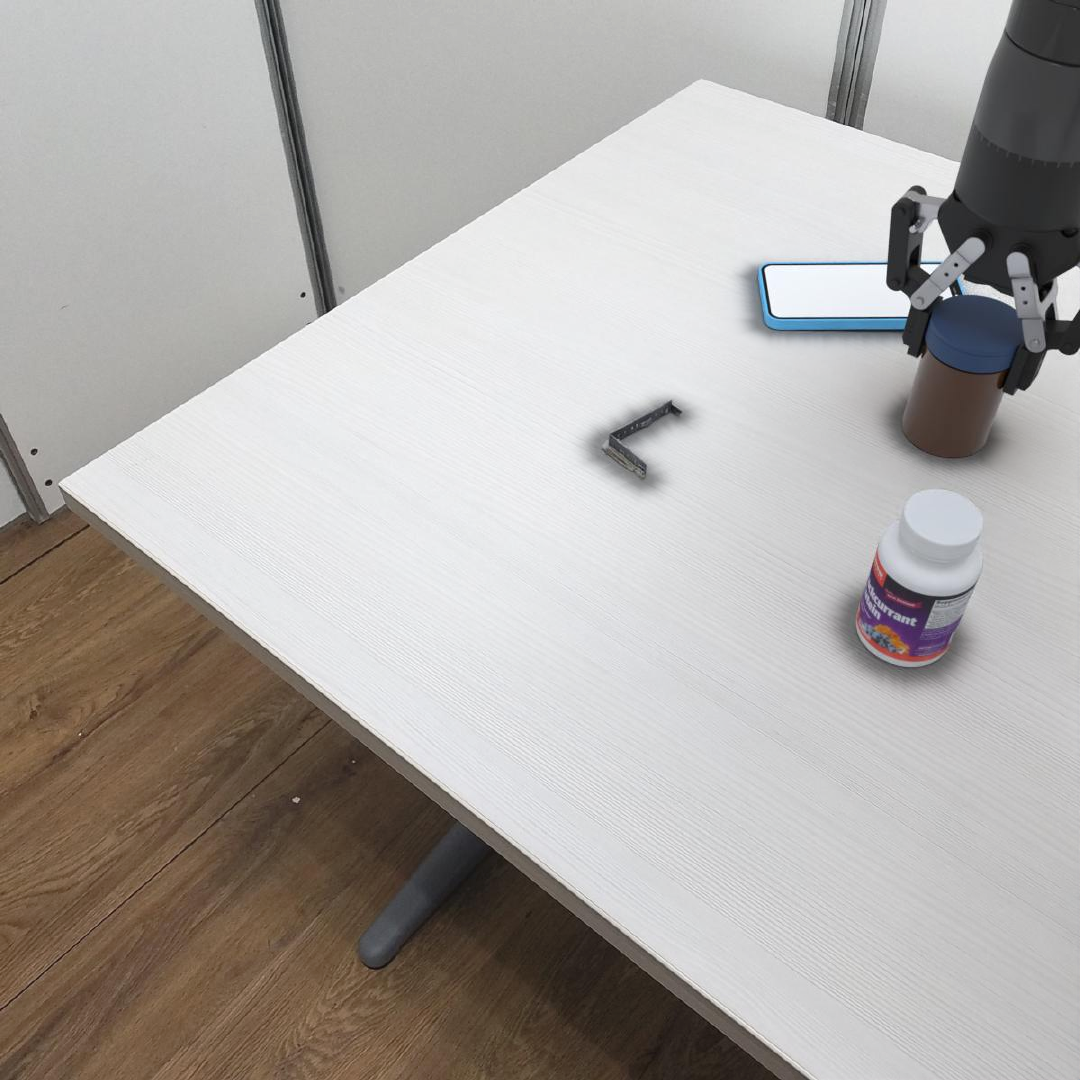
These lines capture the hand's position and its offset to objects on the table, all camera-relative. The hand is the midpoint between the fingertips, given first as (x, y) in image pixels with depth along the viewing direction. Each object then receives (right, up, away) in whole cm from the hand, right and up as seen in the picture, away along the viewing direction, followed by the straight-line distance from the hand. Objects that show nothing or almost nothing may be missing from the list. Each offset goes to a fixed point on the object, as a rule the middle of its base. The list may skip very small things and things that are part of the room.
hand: (964, 368), depth 74 cm
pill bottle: (-7, -17, -8) cm, 19 cm away
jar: (0, -4, +4) cm, 5 cm away
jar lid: (0, +2, -2) cm, 3 cm away
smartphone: (-3, +7, +14) cm, 16 cm away
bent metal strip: (-21, -5, +3) cm, 21 cm away
